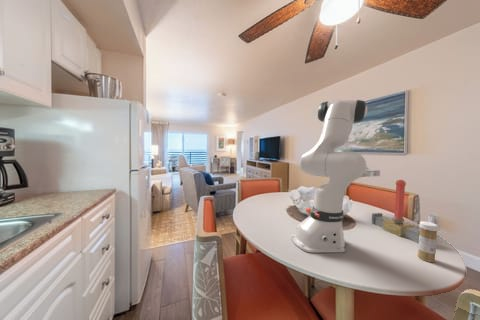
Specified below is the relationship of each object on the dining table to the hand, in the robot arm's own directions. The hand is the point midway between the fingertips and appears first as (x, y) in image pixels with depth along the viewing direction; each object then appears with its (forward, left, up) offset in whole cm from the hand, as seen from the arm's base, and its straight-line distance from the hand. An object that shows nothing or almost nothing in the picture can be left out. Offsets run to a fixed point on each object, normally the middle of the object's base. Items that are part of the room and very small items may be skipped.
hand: (374, 174), depth 98 cm
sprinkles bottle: (-13, -32, -26) cm, 44 cm away
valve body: (0, -13, -26) cm, 29 cm away
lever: (0, -13, -20) cm, 24 cm away
